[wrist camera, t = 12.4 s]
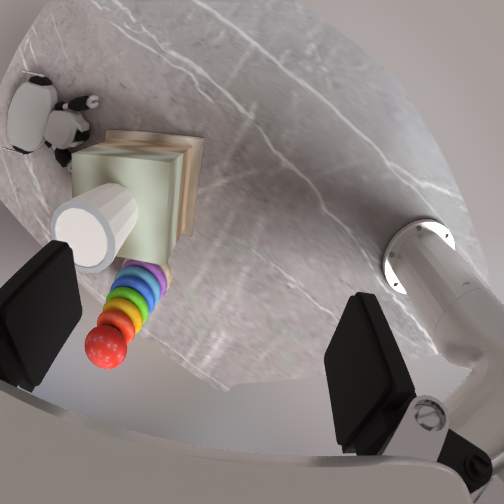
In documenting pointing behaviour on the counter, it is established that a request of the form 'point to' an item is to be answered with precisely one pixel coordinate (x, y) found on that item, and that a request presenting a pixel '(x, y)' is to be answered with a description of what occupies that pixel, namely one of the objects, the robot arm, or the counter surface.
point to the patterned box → (146, 185)
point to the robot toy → (46, 119)
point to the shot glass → (95, 225)
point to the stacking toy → (126, 310)
